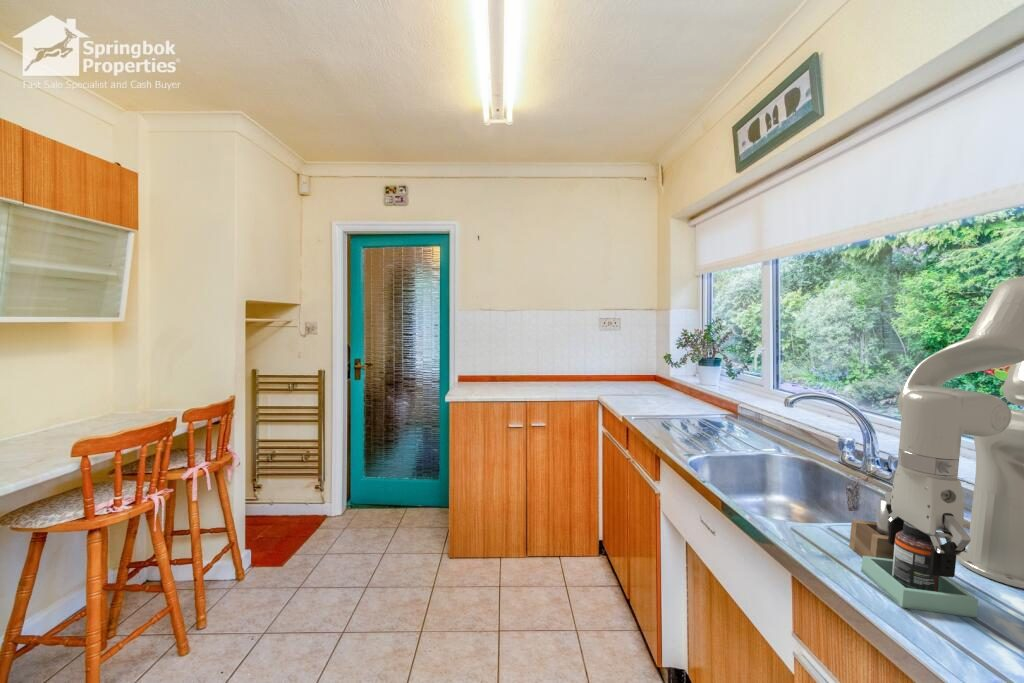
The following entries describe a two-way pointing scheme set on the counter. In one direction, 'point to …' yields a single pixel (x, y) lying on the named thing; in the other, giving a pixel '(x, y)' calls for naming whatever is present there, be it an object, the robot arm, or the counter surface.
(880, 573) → the tray
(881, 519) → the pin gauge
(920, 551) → the supplement bottle
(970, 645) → the counter surface
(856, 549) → the bore block
